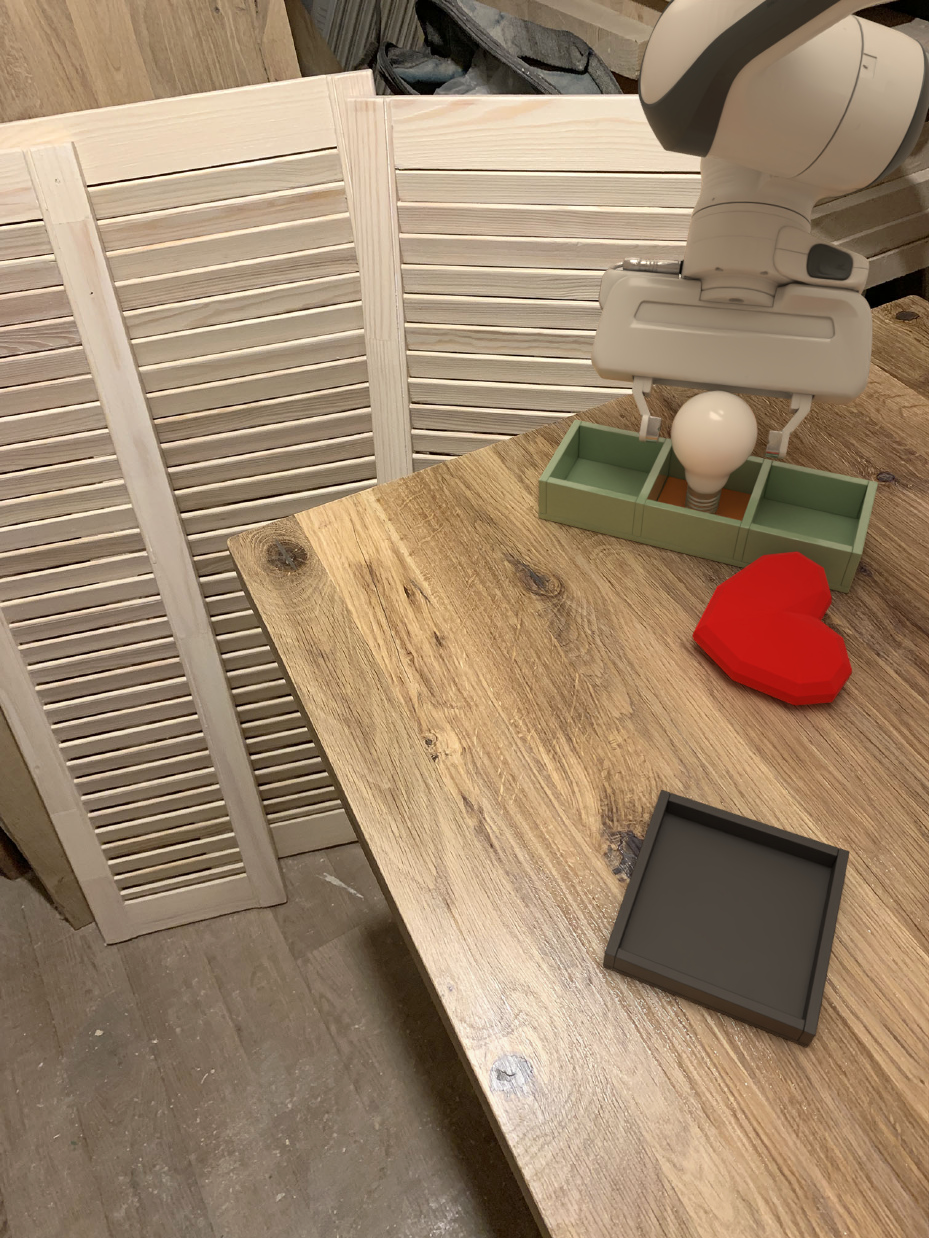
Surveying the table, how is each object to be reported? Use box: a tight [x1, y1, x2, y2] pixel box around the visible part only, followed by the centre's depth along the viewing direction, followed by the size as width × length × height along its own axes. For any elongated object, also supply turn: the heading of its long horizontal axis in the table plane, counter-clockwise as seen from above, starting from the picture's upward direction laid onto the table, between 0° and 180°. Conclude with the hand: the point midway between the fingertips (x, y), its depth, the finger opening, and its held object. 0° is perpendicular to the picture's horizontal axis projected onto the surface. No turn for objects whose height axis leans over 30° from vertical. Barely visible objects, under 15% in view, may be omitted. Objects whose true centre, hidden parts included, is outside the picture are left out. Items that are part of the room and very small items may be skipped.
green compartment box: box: [538, 419, 879, 594], centre depth 75 cm, size 25×9×4 cm, turn 66°
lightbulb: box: [670, 390, 759, 514], centre depth 72 cm, size 6×6×11 cm
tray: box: [602, 789, 850, 1048], centre depth 53 cm, size 11×11×2 cm
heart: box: [691, 552, 853, 706], centre depth 66 cm, size 12×4×10 cm
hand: (710, 449), depth 71 cm, fingers open, 8 cm apart
